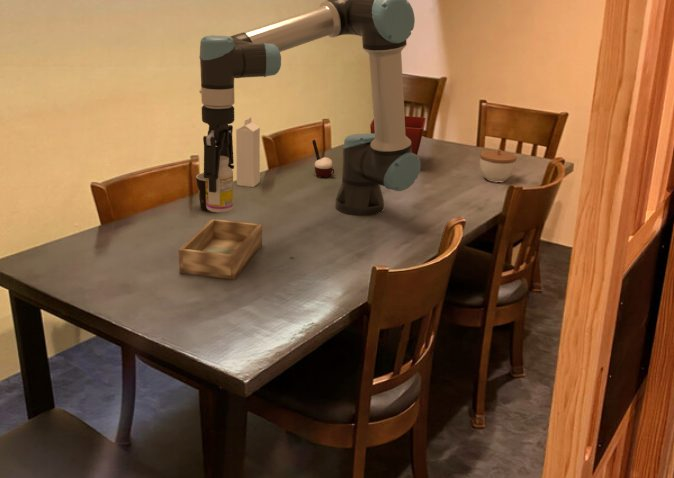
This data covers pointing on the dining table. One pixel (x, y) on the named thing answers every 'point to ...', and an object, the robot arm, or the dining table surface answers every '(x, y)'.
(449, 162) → the dining table surface
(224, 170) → the supplement bottle
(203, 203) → the coffee mug
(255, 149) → the milk
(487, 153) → the lidded bowl
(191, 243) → the walled box
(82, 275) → the dining table surface
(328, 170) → the cocoa
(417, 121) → the plant pot
